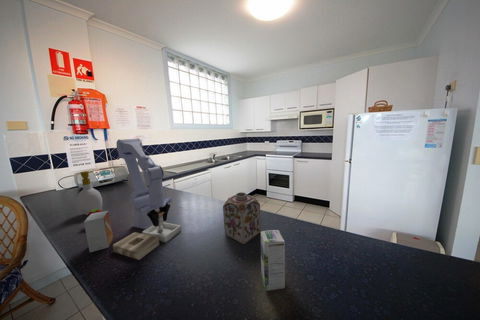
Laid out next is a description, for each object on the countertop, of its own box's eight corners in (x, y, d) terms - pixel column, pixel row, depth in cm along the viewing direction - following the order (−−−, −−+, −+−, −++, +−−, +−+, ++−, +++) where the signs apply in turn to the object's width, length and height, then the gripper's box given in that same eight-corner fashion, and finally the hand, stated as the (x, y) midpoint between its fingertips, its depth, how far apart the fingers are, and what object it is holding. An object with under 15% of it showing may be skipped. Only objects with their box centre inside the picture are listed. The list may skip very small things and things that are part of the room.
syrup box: (260, 274, 52) (259, 230, 50) (279, 272, 52) (278, 228, 50) (265, 291, 46) (263, 243, 44) (286, 288, 47) (285, 240, 45)
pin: (152, 233, 75) (150, 213, 74) (160, 228, 79) (159, 209, 78) (160, 234, 73) (158, 214, 72) (167, 229, 77) (166, 210, 76)
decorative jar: (261, 232, 74) (260, 192, 71) (244, 245, 66) (241, 201, 63) (241, 223, 82) (239, 187, 80) (223, 234, 74) (220, 195, 71)
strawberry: (96, 228, 85) (93, 209, 84) (86, 227, 87) (82, 208, 86) (108, 222, 91) (105, 204, 89) (98, 221, 93) (94, 203, 91)
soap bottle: (110, 210, 106) (102, 169, 102) (95, 217, 98) (86, 173, 94) (91, 209, 109) (83, 170, 105) (75, 216, 100) (66, 173, 96)
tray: (142, 237, 75) (142, 231, 75) (159, 226, 84) (159, 221, 84) (165, 242, 70) (165, 237, 70) (181, 230, 79) (180, 225, 79)
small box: (109, 247, 69) (103, 217, 67) (89, 253, 67) (82, 222, 65) (113, 237, 76) (108, 210, 74) (95, 241, 74) (90, 213, 72)
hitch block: (114, 251, 66) (112, 244, 66) (135, 238, 75) (134, 232, 74) (139, 260, 61) (137, 252, 61) (159, 244, 69) (158, 237, 69)
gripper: (148, 201, 66) (153, 233, 68) (175, 189, 79) (178, 216, 81) (135, 199, 68) (140, 230, 70) (164, 188, 82) (167, 214, 84)
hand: (160, 223), depth 76 cm, fingers closed on pin, 4 cm apart
